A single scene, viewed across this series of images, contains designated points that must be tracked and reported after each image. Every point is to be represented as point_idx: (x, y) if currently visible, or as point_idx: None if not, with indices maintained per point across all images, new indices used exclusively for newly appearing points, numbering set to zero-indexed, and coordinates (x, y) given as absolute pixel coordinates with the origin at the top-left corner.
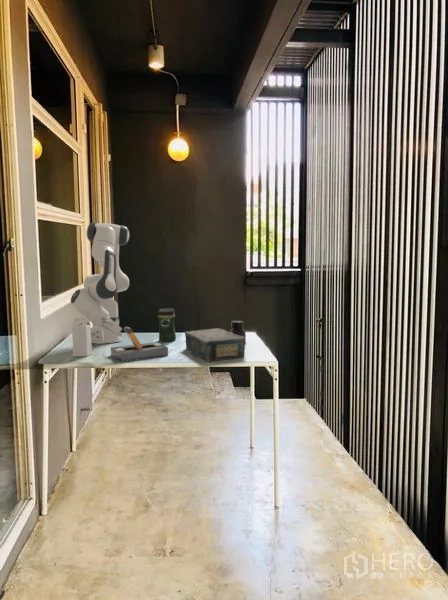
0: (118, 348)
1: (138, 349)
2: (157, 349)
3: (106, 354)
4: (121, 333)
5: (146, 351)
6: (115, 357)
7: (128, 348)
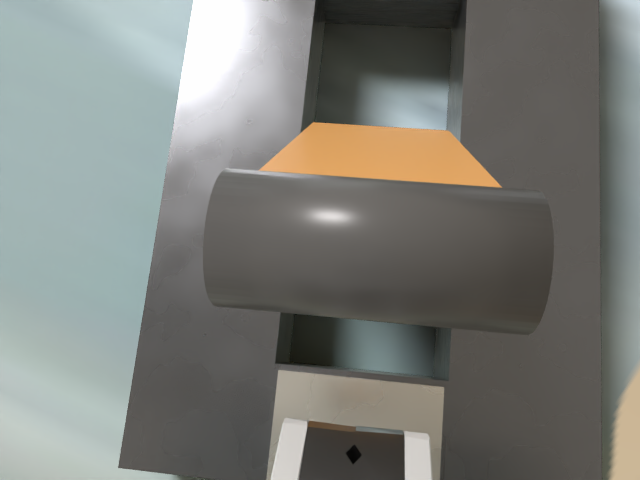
0: None
1: None
2: (596, 15)
3: (68, 469)
4: (428, 459)
5: (592, 155)
6: None
7: None
